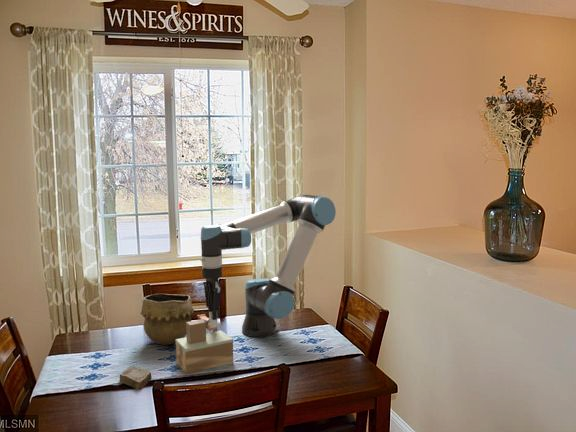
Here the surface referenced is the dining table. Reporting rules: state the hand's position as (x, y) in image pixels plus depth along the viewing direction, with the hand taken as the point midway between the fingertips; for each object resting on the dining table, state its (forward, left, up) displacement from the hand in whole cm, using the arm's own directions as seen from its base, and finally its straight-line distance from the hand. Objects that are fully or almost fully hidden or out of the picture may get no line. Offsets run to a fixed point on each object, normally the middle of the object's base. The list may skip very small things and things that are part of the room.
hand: (213, 326), depth 189 cm
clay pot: (-21, -11, -11) cm, 27 cm away
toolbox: (+6, -6, -11) cm, 14 cm away
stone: (+6, -31, -12) cm, 34 cm away
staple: (-4, 0, -11) cm, 12 cm away
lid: (+6, -6, -3) cm, 9 cm away
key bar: (-7, 0, -2) cm, 7 cm away
